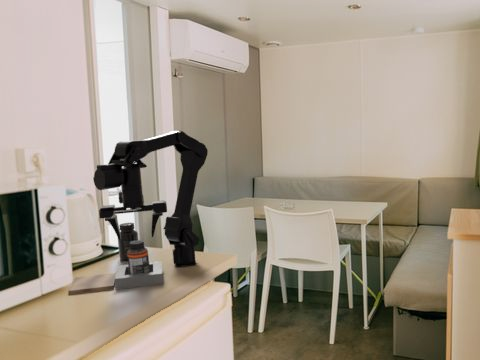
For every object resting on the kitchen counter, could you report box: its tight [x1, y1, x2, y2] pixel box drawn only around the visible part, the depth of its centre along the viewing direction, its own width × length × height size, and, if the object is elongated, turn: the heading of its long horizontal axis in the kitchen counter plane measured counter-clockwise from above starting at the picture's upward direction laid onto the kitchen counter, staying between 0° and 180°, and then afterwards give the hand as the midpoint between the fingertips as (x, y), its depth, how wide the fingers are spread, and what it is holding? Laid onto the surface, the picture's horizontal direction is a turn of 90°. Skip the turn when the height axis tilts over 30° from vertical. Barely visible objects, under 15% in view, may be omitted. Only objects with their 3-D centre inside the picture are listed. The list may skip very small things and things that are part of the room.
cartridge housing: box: [114, 260, 164, 290], centre depth 138 cm, size 13×13×3 cm
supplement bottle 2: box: [127, 239, 150, 275], centre depth 138 cm, size 6×6×11 cm
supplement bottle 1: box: [117, 222, 139, 262], centre depth 162 cm, size 7×7×12 cm
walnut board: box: [67, 272, 116, 295], centre depth 136 cm, size 12×12×1 cm
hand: (136, 238), depth 137 cm, fingers open, 9 cm apart
